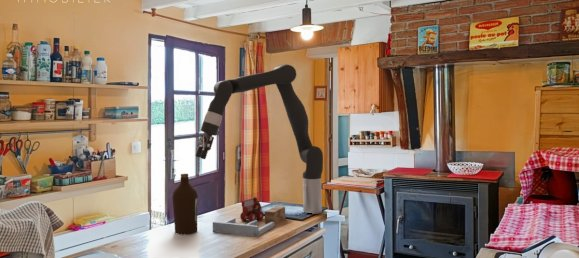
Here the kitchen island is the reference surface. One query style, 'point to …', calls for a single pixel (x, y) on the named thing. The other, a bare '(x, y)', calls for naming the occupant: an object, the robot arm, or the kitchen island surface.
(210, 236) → the kitchen island surface
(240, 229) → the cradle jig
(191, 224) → the olive oil
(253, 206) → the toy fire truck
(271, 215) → the wing block
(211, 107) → the robot arm
